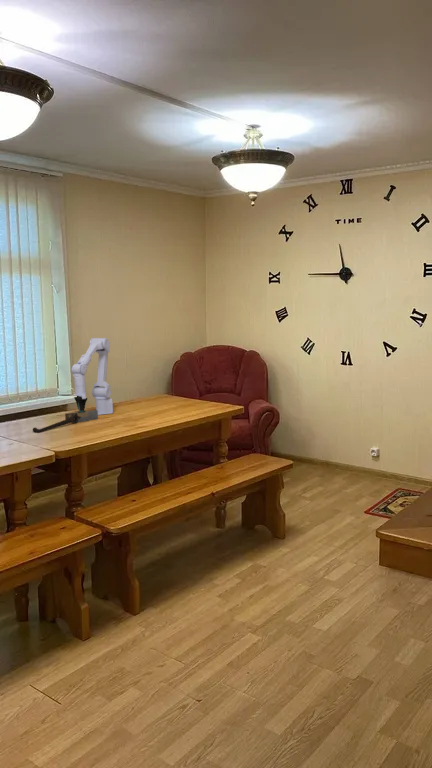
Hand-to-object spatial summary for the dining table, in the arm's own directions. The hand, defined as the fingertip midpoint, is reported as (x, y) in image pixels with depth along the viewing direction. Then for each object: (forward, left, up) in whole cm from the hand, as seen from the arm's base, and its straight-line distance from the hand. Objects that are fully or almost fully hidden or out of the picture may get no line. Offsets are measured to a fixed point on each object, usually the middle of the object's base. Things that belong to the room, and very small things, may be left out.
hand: (81, 410), depth 344 cm
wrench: (+16, +9, -6) cm, 19 cm away
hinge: (0, 0, -6) cm, 6 cm away
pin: (0, 0, -3) cm, 3 cm away
